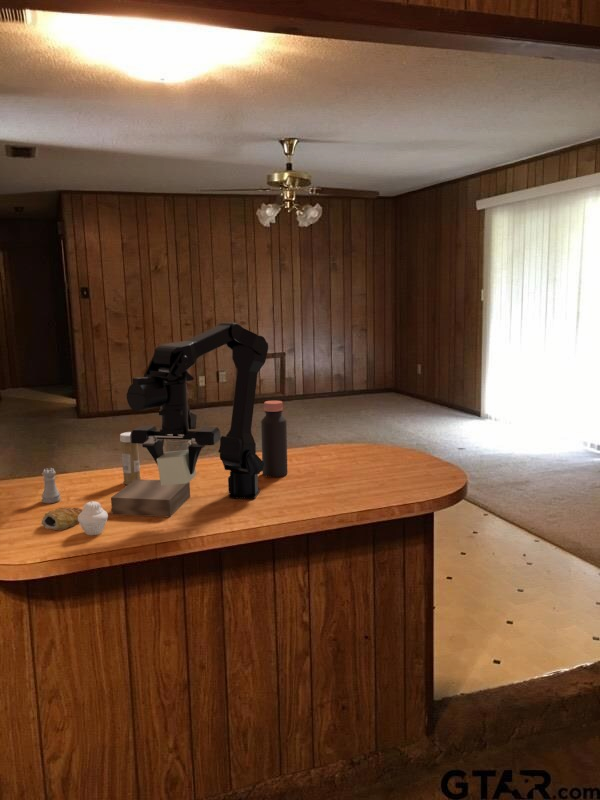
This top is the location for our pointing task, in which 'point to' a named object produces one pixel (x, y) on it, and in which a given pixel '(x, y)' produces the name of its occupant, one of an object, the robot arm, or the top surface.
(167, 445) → the carving
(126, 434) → the sprinkles bottle
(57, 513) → the pastry
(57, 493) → the rook chess piece
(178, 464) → the sage cube
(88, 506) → the muffin
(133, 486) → the walnut base
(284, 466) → the vinegar
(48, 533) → the top surface
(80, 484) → the top surface
